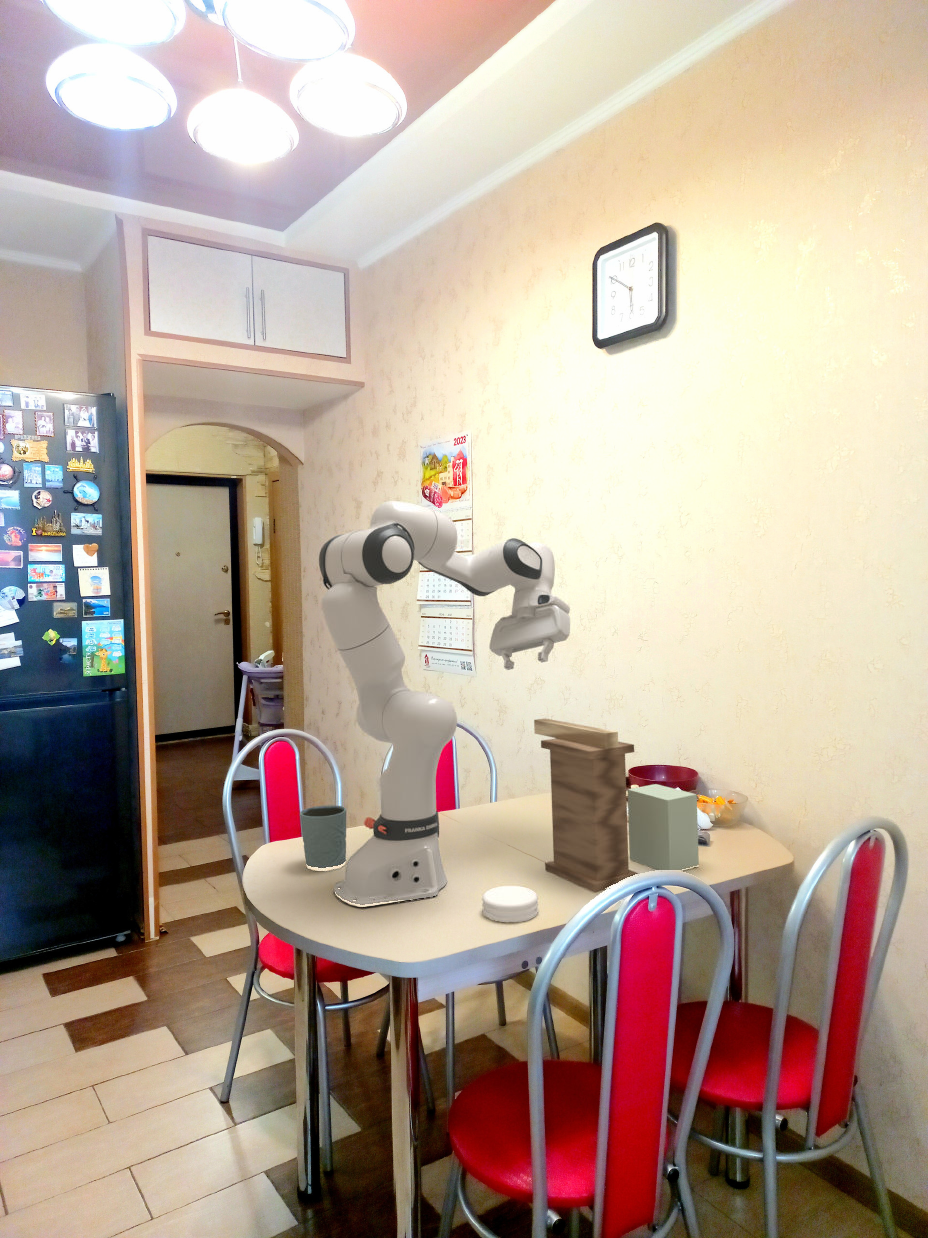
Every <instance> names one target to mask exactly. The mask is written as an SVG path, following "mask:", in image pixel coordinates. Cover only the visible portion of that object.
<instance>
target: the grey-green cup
mask: <svg viewBox="0 0 928 1238" xmlns="http://www.w3.org/2000/svg"><path fill="white" fill-rule="evenodd" d="M299 817H300V826H301V835H302V836H301V837H302V842H303V851H304V857H305V865H306V864H307V865H308V866H311V867H318V868H326V867H333V866H338V865H341V864H343V863H344V862H345V861H346V862H347V808H346V807H345V806H343V805H342V806H341V805H331V804H330V805H320V806H317V805H316V806H312V807H309V808H304V809H303V810H301V811H300V812H299Z"/></svg>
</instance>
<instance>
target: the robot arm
mask: <svg viewBox="0 0 928 1238" xmlns="http://www.w3.org/2000/svg"><path fill="white" fill-rule="evenodd" d="M457 544H458V531H457V528H456V525H455V523H454V522H453V520H452V518H450V517H449V516H447V515H446V514H445V513H442V512H440V511H438V510H436V509H432V508H430V507H426V506H423V505H419V504H417V503H411V502H406V501H399V500H388V501H385V502H382V503H381V504H379V505H378V506H377V507H376V509H375V510H374V511H373V513H372V516H371V518H370V522H369V528H368V529H357V530H354V531H349V532H347V533H343V534H337V535H335V536H333V537H332V538H330V539H329V540H327V541H326V542H325V543H324V544H323V545H322V547H321V548H320V550H319V555H318V565H319V572H320V574H321V576H322V583H323V586H324V587H325V588H326V589H327V590H326V591H325V594H323V596H322V600H321V610H322V614H323V617H324V620H325V623H326V625H327V629H328V631H329V634H330V636H331V638H332V640H333V643H334V644H335V646H336V648H337V651H338V652H339V655H340V657H341V658H342V660H343V662H344V665H345V666H346V668H347V670H348V672H349V674H350V676H351V678H352V680H353V682H354V686H355V688H356V689H355V690H356V694H357V698H358V705H357V707H356V714H355V715H356V721H357V724H358V726H359V728H360V730H362V731H363V732H364V733H365V734H367V735H368V736H370V737H372V738H373V739H374V740H376V741H380V742H383V743H388V744H392V753H391V758H390V761H389V765H388V767H387V768H386V769H384V770H383V772H382V773H381V775H380V779H379V789H380V790H379V791H380V792H379V793H380V795H379V796H380V815H379V816H378V818H376V819H374V818H372V817H370V816H368V817H366V818H365V819H364V820H363V824H364V825H363V826H365V828H368V829H369V830H373V835H372V836H371V837H370V838H369V839H367V841H366V842H365V843H364V844H363V845H361V846H360V847H359V848H358V849H357V851H355V852H354V853H353V854H352V855H351V856H350V857H349V858H348V859H347V861H346V865H345V871H344V872H345V873H344V874H345V875H344V880H342V881H339V882H337V883H335V885H334V886H333V892H334V891H335V892H336V894H337V895H338V896H340V897H341V898H342V899H344V900H347V901H349V902H351V903H355V904H360V905H365V904H373V903H380V902H389V901H398V900H410V899H417V898H424V899H427V898H426V897H430V898H434V897H433V896H435V897H436V895H437V896H438V894H439V891H440V890H441V889H442V888H444V887H445V886H446V885H447V882H448V879H447V876H446V873H445V870H444V866H443V862H442V857H441V851H440V844H439V838H440V821H439V819H440V818H439V811H437V799H436V798H437V797H436V796H437V792H436V790H437V789H436V785H437V784H436V781H437V780H436V778H437V777H436V776H437V769H438V764H439V760H440V757H441V753H442V751H443V749H444V748H445V746H446V745H447V744H448V743H449V742H450V741H451V740H452V739H453V737H454V735H455V734H456V730H457V726H458V725H457V724H458V718H457V717H458V715H457V713H456V709H455V707H454V705H452V703H450V701H448V700H446V699H445V698H443V697H441V696H438V695H436V694H434V693H431V692H427V691H426V692H425V691H416V690H411V689H410V688H409V687H408V686H407V685H406V683H405V680H404V677H403V671H402V668H403V667H404V665H405V660H406V656H405V653H404V650H403V648H402V647H401V644H400V643H399V641H398V638H397V636H396V635H395V632H394V630H393V628H392V627H391V624H390V622H389V620H388V619H387V616H386V614H385V613H384V611H383V610H382V607H381V606H380V603H379V600H378V599H379V598H378V586H383V585H391V584H394V583H397V582H399V581H401V580H403V579H404V578H405V577H407V576H408V574H409V573H410V572H411V569H412V567H413V564H414V561H416V562H417V563H418V564H419V565H420V566H421V567H423V568H425V569H426V570H428V571H430V572H432V573H434V574H437V575H439V576H442V577H443V578H445V579H448V580H450V581H453V582H455V583H457V584H458V585H461V587H463V588H464V589H466V590H467V591H468V592H470V593H471V594H473V595H475V596H477V597H487V596H488V595H490V594H493V593H494V592H497V590H501V589H503V588H506V587H508V586H511V587H512V588H514V592H513V593H514V594H513V599H512V607H511V614H509V615H507V616H502V617H501V618H500V619H499V620H498V621H496V622H495V624H494V627H493V630H492V633H491V637H490V642H489V647H488V648H489V650H490V651H491V652H492V653H494V654H495V655H496V656H498V657H502V660H503V661H504V662H503V668H504V669H506V671H509V670H513V669H514V668H515V661H512V660H511V658H512V657H513V654H515V653H519V652H522V651H526V650H530V649H535V648H539V647H543V648H542V649H541V651H539V652H538V653H537V660H538V662H540V663H545V662H548V661H549V655H550V653H551V652H552V650H553V649H554V646H555V643H559V642H565V641H567V639H568V638H569V637H570V633H571V618H570V615H569V614H570V611H571V608H570V606H569V605H568V604H567V603H566V602H565V601H564V600H562V599H561V598H559V597H558V596H556V595H554V594H552V590H553V587H554V585H555V570H556V568H555V567H556V566H555V563H556V562H555V558H554V554H553V551H552V549H551V548H550V547H548V546H547V545H546V544H544V543H542V542H537V541H533V542H528V543H526V542H525V541H523V540H521V539H519V538H517V537H514V538H510V539H509V538H508V539H506V540H504V541H502V542H499V543H496V544H495V545H492V546H491V547H489V548H486V549H484V550H481V551H479V552H476V553H473V554H470V555H469V554H468V555H462V554H461V553H460V552H459V553H458V552H457V551H456V549H457V546H458V545H457ZM338 888H340V889H338ZM353 900H356V901H353ZM417 900H418V899H417Z"/></svg>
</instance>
